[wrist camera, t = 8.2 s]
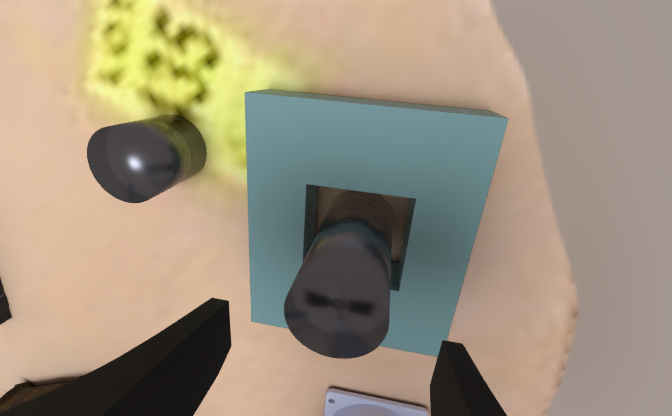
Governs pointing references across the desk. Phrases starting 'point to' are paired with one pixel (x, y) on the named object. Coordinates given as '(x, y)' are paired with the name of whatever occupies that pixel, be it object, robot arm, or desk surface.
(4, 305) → the disk drive
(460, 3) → the desk surface
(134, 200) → the short pin
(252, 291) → the hole block
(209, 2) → the desk surface
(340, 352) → the tall pin
